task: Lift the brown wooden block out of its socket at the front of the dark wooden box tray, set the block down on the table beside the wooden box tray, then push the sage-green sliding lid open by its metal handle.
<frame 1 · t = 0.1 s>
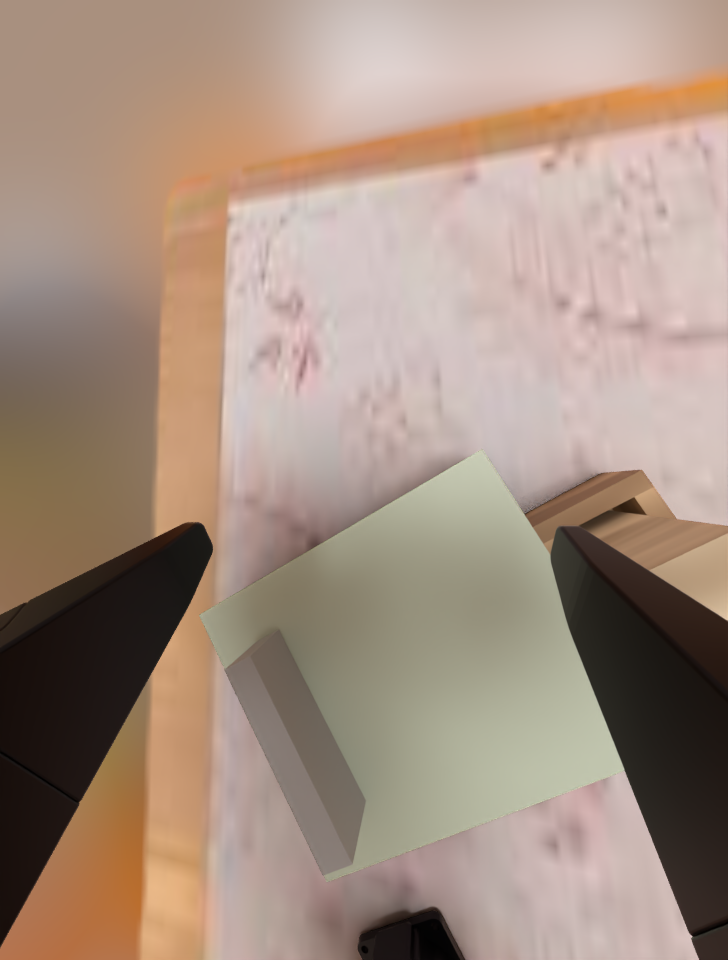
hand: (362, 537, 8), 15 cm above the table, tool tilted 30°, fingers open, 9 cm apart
brown wooden block: (590, 543, 19), point 1 cm above the table, touching wooden box tray
wooden box tray: (409, 628, 23), on the table
lid: (400, 684, 16), point 7 cm above the table, slide at 0.0 cm
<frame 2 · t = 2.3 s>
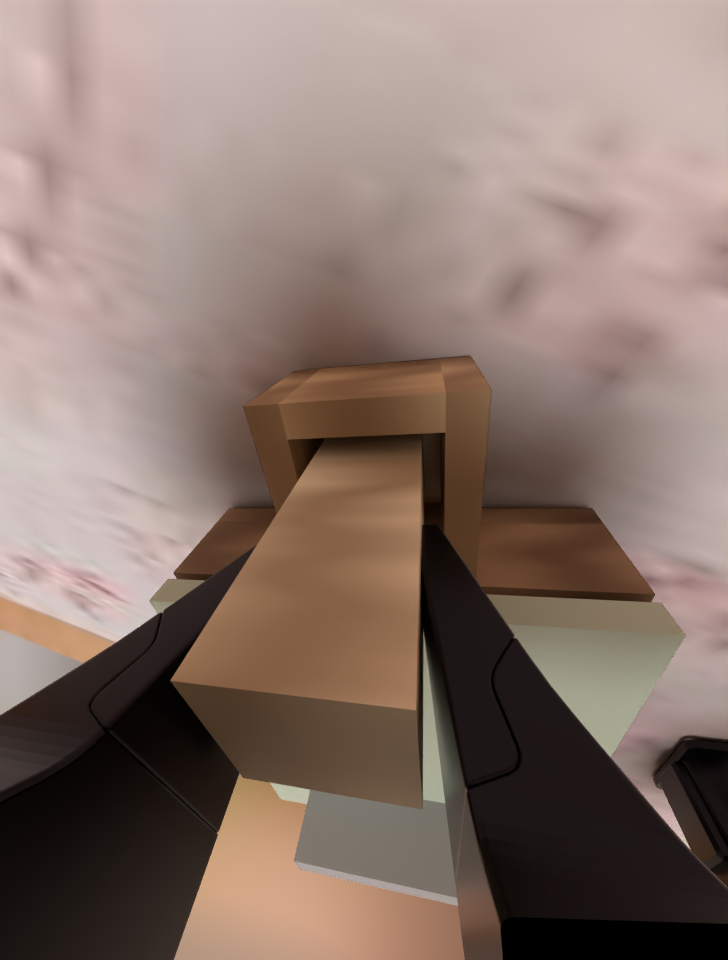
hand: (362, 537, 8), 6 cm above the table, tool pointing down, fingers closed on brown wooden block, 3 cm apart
brown wooden block: (382, 456, 12), point 1 cm above the table, touching gripper, wooden box tray
wooden box tray: (402, 639, 19), on the table
lid: (393, 781, 14), point 7 cm above the table, slide at 0.0 cm
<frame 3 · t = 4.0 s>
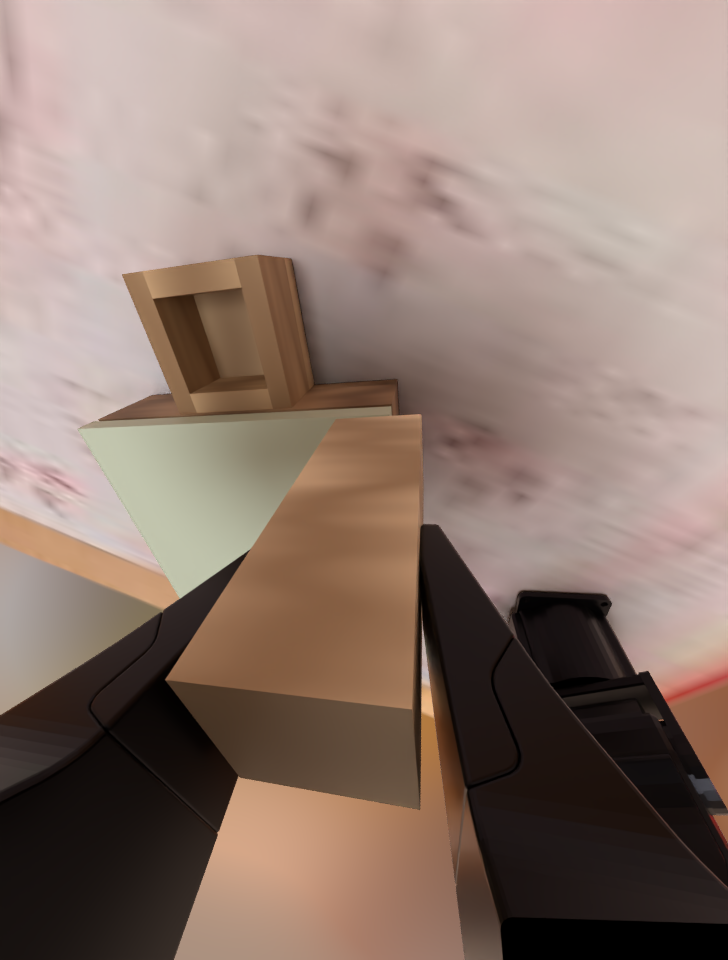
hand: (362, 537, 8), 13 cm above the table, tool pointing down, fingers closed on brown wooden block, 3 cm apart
brown wooden block: (381, 455, 12), point 8 cm above the table, touching gripper
wooden box tray: (298, 512, 25), on the table
lid: (263, 579, 19), point 7 cm above the table, slide at 0.0 cm
when the fingers open (6 cm above the table, at t = 6.0 s): brown wooden block drops 2 cm, on the table.
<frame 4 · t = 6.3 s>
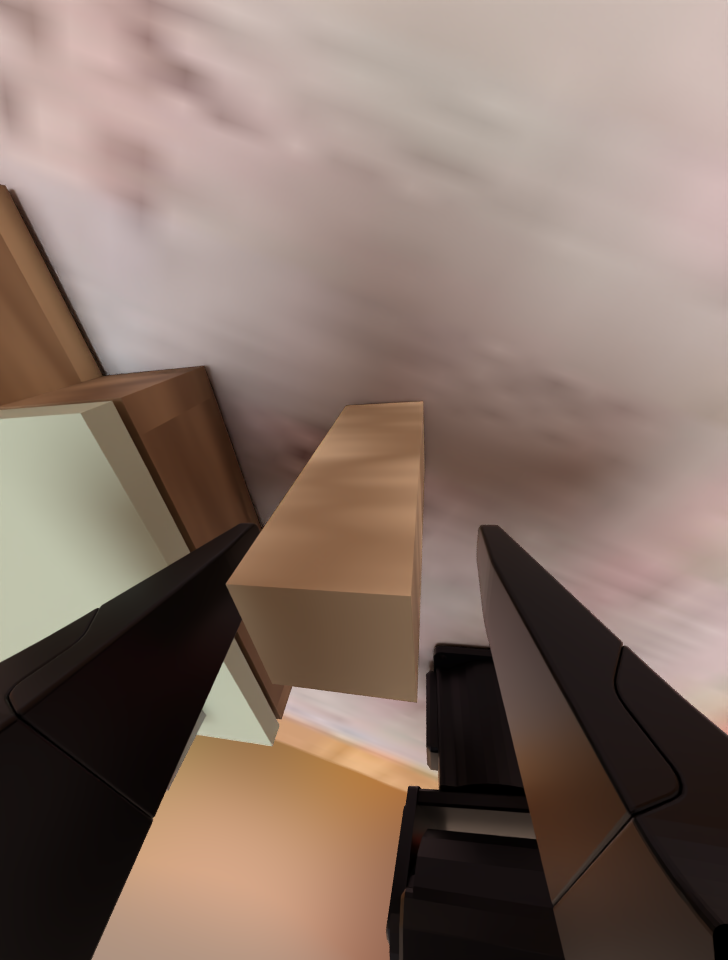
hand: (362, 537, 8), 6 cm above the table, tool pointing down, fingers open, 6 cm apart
brown wooden block: (386, 439, 13), on the table
wooden box tray: (142, 543, 19), on the table
lid: (30, 647, 14), point 6 cm above the table, slide at 0.0 cm
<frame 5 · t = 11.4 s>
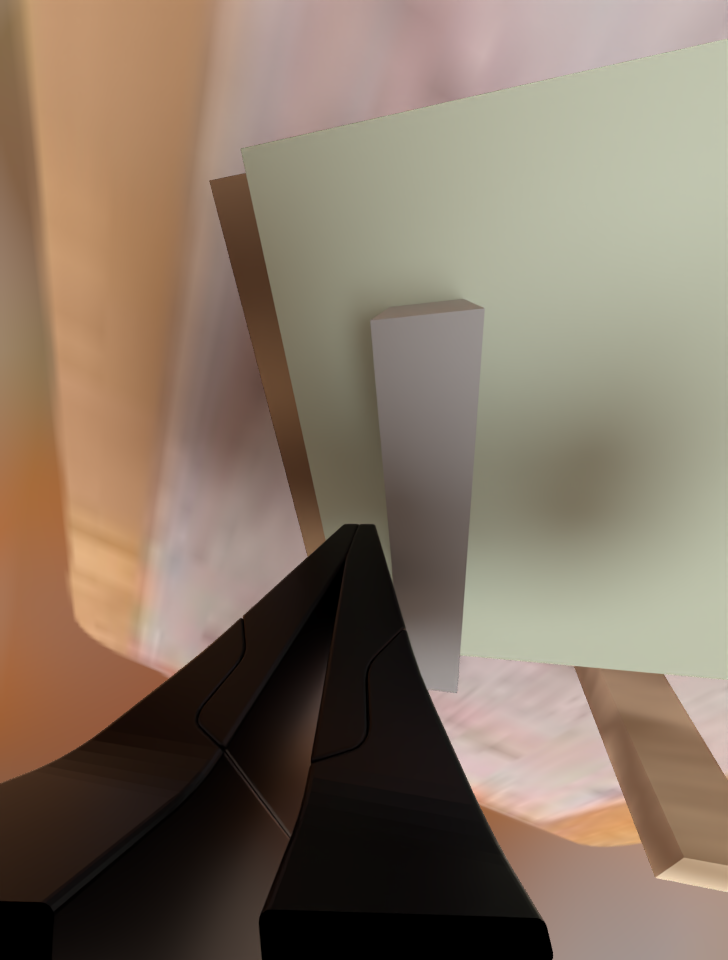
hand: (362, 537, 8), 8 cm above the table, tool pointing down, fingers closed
brown wooden block: (604, 649, 20), on the table
wooden box tray: (538, 420, 13), on the table
lid: (687, 516, 8), point 7 cm above the table, slide at 1.5 cm, touching gripper
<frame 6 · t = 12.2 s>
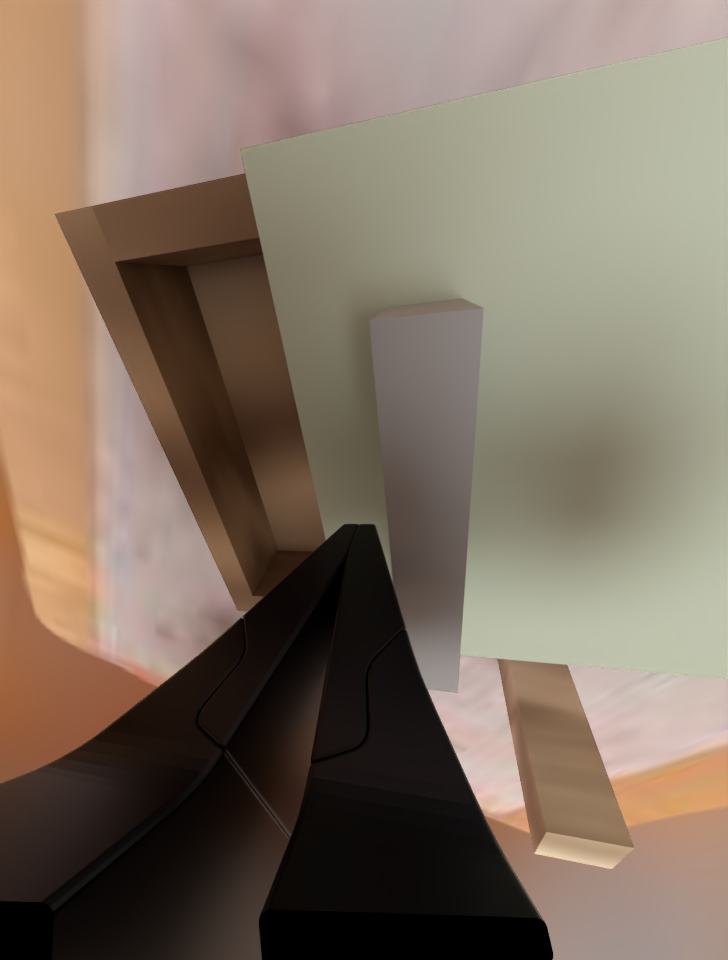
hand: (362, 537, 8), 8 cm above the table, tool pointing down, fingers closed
brown wooden block: (524, 642, 21), on the table
wooden box tray: (424, 424, 14), on the table
lid: (687, 515, 8), point 7 cm above the table, slide at 6.1 cm, touching gripper
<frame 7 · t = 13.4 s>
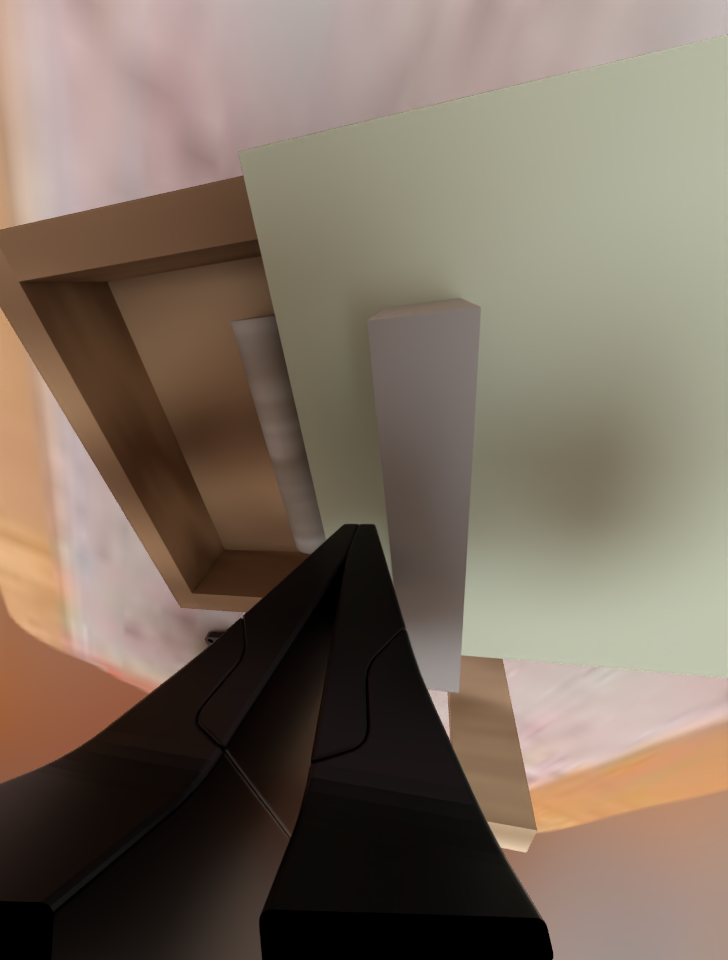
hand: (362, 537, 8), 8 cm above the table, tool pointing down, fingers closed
brown wooden block: (469, 638, 21), on the table
wooden box tray: (348, 428, 15), on the table
lid: (688, 514, 8), point 6 cm above the table, slide at 9.6 cm, touching gripper
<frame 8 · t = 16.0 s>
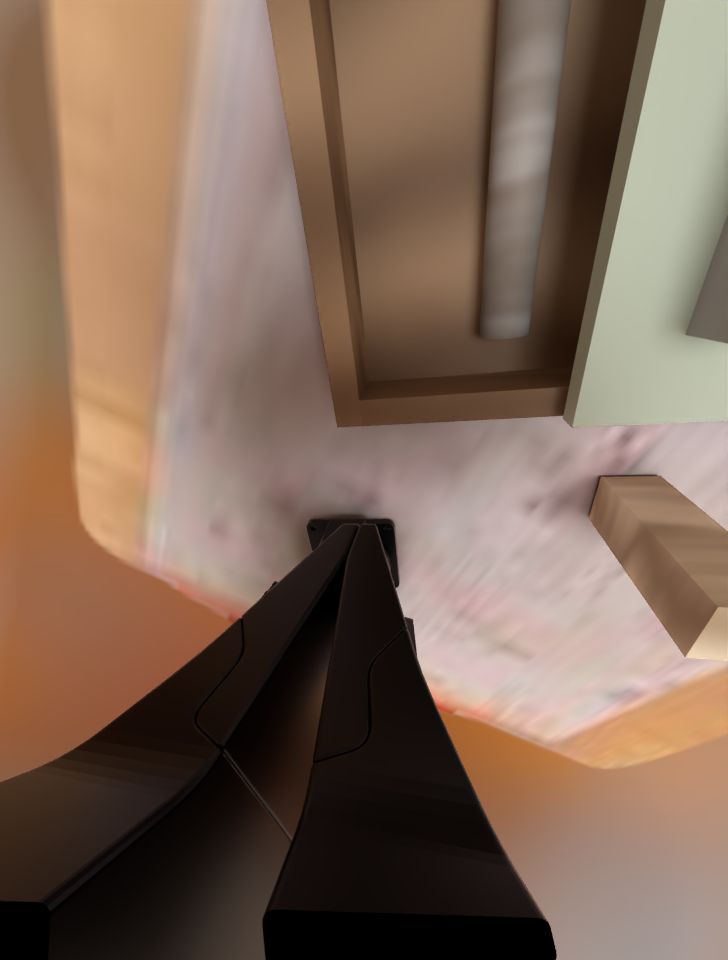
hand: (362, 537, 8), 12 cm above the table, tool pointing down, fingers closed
brown wooden block: (622, 498, 19), on the table
wooden box tray: (558, 188, 13), on the table
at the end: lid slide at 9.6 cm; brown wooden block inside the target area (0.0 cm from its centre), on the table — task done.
